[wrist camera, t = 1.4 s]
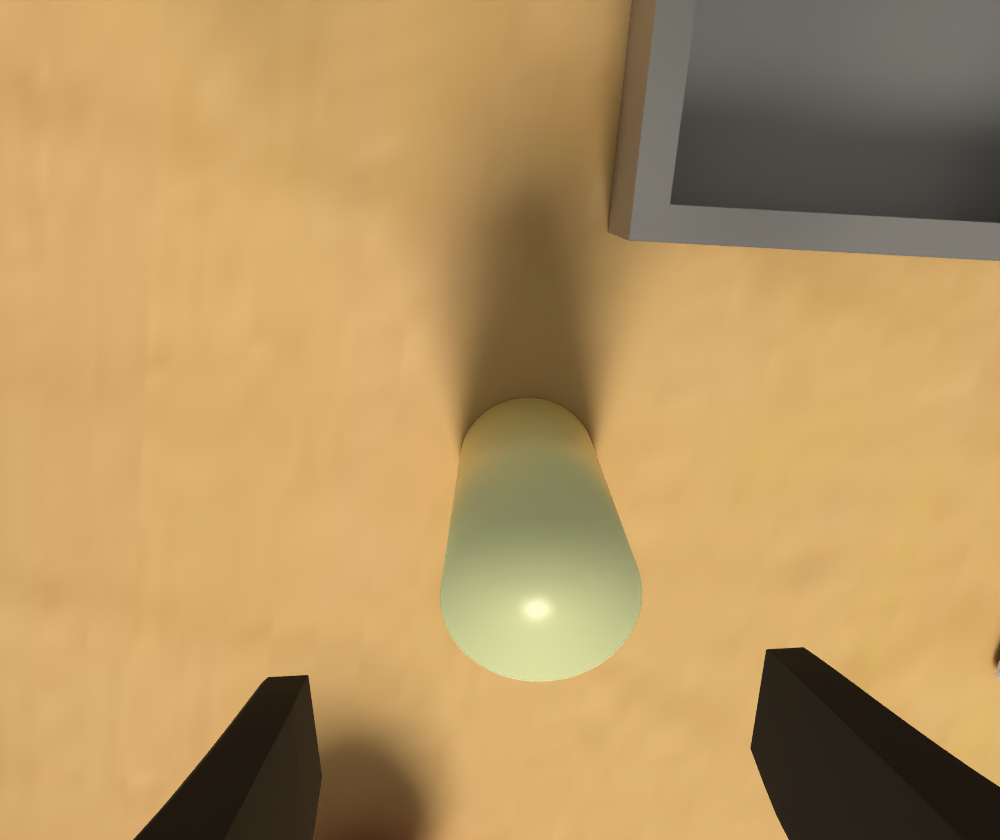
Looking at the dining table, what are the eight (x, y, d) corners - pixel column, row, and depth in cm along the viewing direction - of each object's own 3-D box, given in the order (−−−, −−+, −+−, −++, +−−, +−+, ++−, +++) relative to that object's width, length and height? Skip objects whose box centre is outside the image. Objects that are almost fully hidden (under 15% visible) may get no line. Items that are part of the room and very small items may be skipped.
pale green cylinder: (600, 401, 19) (654, 513, 12) (587, 524, 20) (629, 685, 14) (462, 393, 19) (442, 503, 12) (457, 518, 20) (437, 677, 14)
